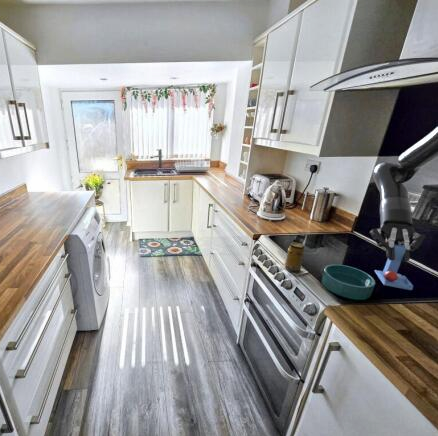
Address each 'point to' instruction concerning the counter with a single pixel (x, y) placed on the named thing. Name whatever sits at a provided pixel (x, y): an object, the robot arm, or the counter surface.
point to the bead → (391, 276)
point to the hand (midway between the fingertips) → (398, 260)
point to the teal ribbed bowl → (348, 282)
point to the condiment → (295, 259)
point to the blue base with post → (395, 270)
